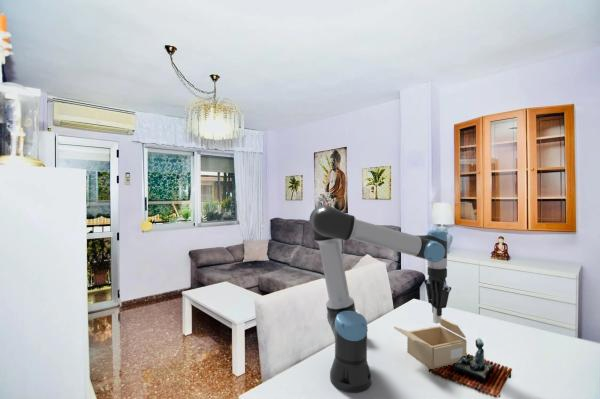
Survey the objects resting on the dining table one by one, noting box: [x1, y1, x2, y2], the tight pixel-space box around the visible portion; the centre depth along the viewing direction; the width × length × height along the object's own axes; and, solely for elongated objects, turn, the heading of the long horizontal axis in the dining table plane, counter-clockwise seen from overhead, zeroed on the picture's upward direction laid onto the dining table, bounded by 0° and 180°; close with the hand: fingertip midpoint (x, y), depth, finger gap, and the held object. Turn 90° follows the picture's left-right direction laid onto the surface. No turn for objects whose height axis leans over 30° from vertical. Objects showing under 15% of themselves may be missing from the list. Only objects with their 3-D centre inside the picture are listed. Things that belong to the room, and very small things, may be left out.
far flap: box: [439, 316, 467, 339], centre depth 129 cm, size 1×12×8 cm
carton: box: [406, 325, 468, 370], centre depth 127 cm, size 18×16×9 cm
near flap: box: [393, 326, 428, 346], centre depth 122 cm, size 1×12×8 cm
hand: (436, 322), depth 127 cm, fingers closed
